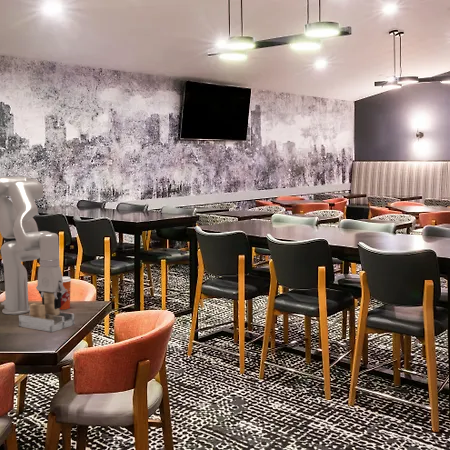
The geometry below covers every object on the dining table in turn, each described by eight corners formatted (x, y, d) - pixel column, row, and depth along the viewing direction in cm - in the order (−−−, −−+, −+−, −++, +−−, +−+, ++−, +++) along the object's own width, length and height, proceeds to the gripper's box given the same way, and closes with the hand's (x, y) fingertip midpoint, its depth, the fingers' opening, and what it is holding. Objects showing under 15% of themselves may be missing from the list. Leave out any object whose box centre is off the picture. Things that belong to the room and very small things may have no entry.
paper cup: (67, 310, 267) (66, 279, 266) (51, 309, 268) (50, 279, 267) (75, 306, 275) (74, 276, 273) (59, 305, 276) (58, 275, 275)
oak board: (30, 326, 241) (29, 304, 241) (35, 324, 244) (34, 303, 243) (41, 328, 239) (40, 306, 238) (45, 326, 241) (45, 304, 240)
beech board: (44, 314, 245) (43, 292, 244) (48, 312, 247) (47, 291, 246) (55, 315, 242) (54, 293, 241) (59, 314, 244) (58, 292, 243)
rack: (19, 326, 241) (18, 315, 241) (42, 319, 252) (41, 308, 252) (52, 332, 233) (51, 320, 232) (74, 324, 244) (74, 313, 243)
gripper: (27, 263, 243) (29, 307, 245) (58, 266, 235) (60, 311, 237) (41, 261, 250) (43, 303, 252) (72, 263, 241) (74, 307, 243)
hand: (51, 306), depth 244 cm, fingers closed on beech board, 6 cm apart
